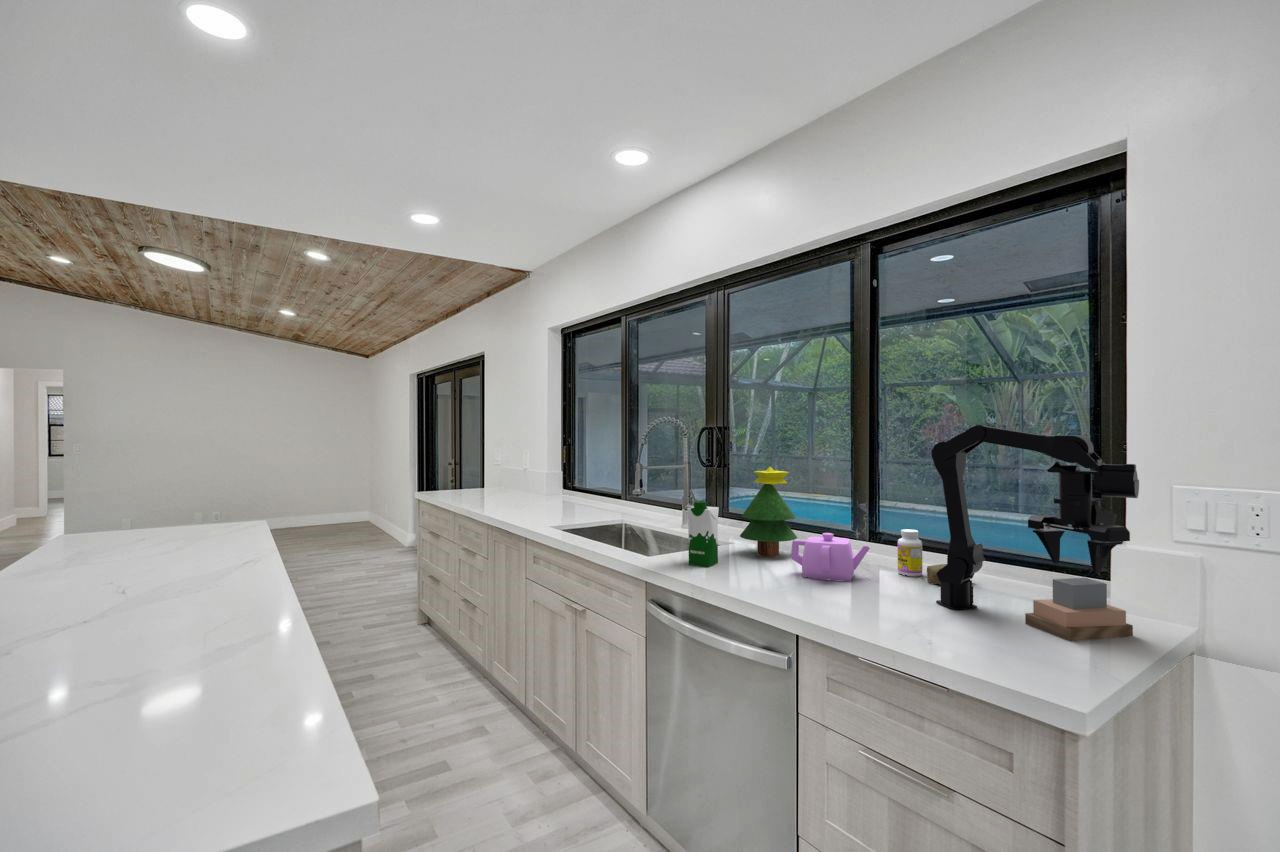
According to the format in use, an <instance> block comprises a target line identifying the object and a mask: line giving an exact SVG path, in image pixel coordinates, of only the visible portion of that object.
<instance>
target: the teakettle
mask: <svg viewBox="0 0 1280 852" xmlns="http://www.w3.org/2000/svg"><path fill="white" fill-rule="evenodd" d="M821 534H822V536H809V537H808V538H807V539H795V540H791V541H792V544H791V551H790V552H791V554H790V559H791V560H792V561H794V562H796V563H797V564H799V565H800V566H801V571H802V572H801V573H802V575H803V578H804V577H808V578H807V579H810V578H816V579H815V580H819V579H830V580H844V581H843V582H851V581H852V580H851V579H853V578H854V573H855V571H856V569H857V568H858V566H859V565H860V563H861V562H862V560H863V559H864V557H865V556H866V554H867V553H868V552H869V550H870V549H871V547H870V546H868V545H863V546H862V547H861V548H860V549H859V551H857V552H856V554H854V553H853V547H852V542H851V539H849V538H846V537H834V533H833V532H823V533H821ZM799 546H802V547H803V546H804V548H803V552H802V553H803V554H802V555H801V554H800V553H799V551H800V550H799V548H800V547H799ZM830 580H829V581H830Z"/></svg>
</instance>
